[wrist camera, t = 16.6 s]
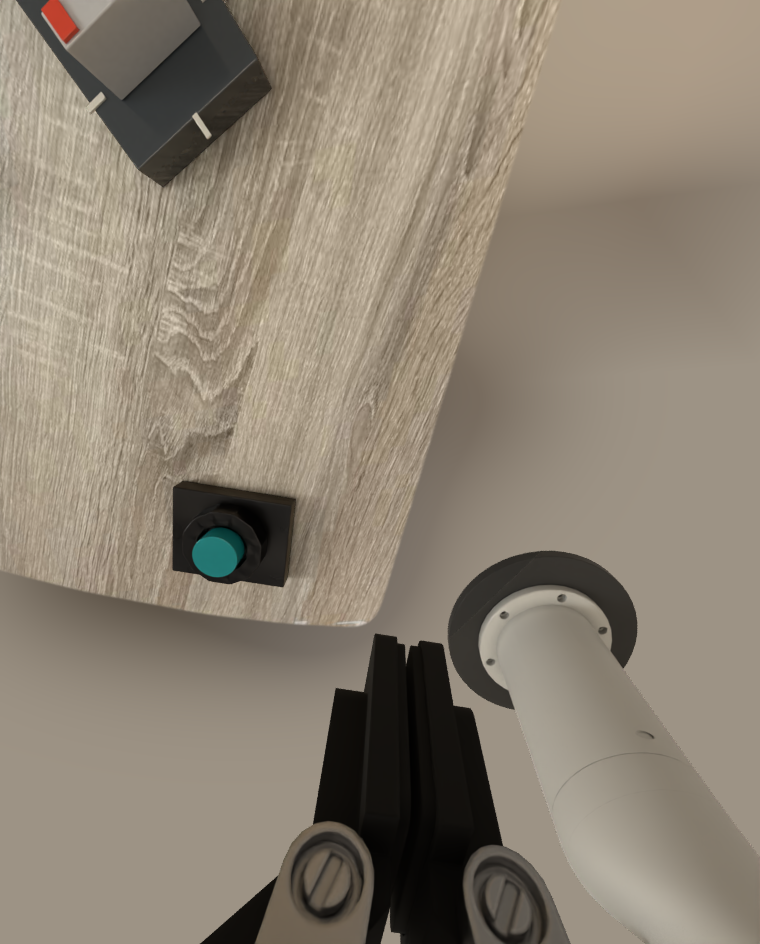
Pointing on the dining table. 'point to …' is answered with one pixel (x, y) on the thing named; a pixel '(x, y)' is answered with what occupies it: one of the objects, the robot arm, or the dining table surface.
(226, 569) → the button
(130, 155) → the tap plate
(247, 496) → the button block
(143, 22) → the tap handle
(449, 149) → the dining table surface
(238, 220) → the dining table surface
